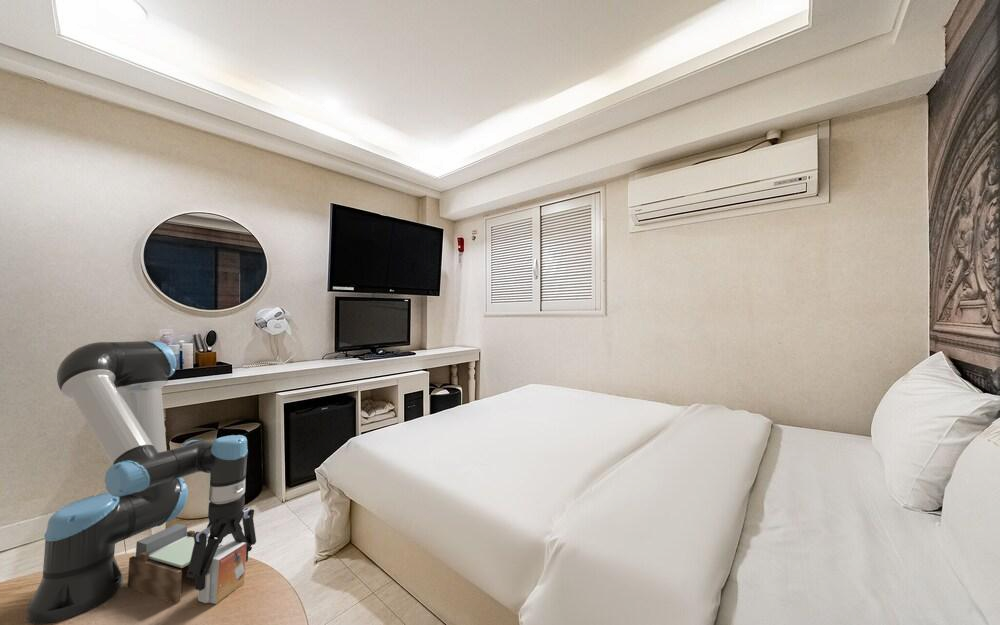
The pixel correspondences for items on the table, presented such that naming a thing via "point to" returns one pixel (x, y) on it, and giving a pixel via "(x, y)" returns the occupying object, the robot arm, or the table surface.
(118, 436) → the robot arm
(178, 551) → the trapdoor
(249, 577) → the table surface
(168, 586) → the trapdoor frame
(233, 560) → the small box
